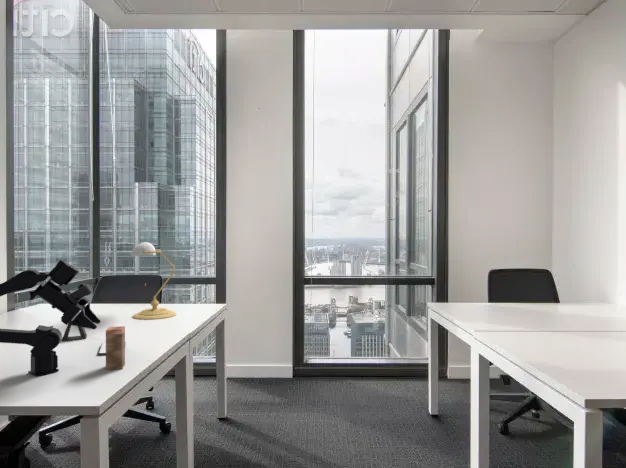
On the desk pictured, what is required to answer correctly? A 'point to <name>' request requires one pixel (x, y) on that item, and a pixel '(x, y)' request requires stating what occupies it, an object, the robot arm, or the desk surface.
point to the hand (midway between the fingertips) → (97, 325)
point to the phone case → (102, 350)
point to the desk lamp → (153, 312)
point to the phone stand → (82, 336)
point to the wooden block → (115, 348)
